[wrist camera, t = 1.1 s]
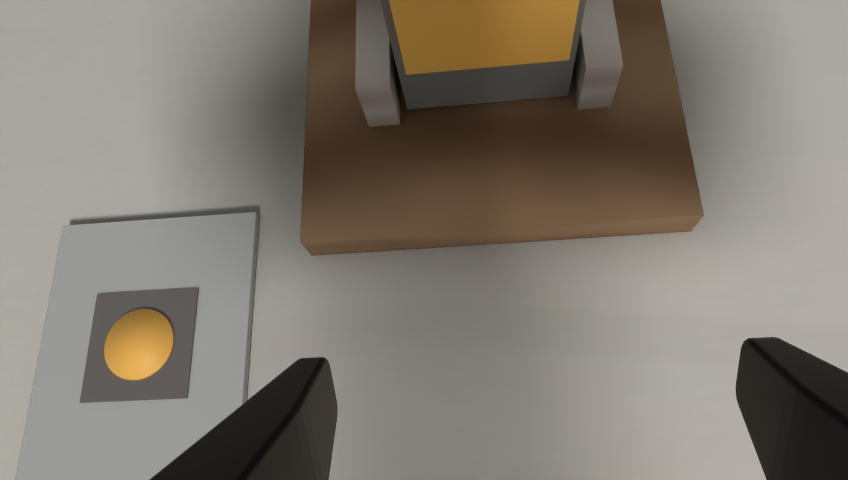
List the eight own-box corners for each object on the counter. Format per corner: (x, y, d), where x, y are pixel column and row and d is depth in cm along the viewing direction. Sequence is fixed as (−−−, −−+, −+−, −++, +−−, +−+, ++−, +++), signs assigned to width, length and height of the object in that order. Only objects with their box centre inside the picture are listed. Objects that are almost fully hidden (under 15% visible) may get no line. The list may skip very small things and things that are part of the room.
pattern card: (240, 487, 21) (233, 488, 21) (20, 494, 22) (7, 494, 21) (259, 215, 25) (254, 209, 24) (69, 229, 25) (59, 223, 25)
